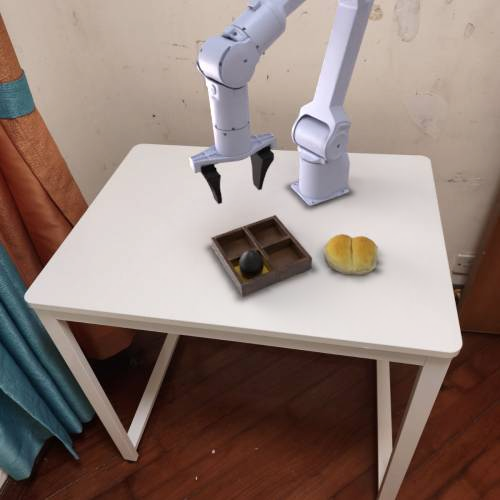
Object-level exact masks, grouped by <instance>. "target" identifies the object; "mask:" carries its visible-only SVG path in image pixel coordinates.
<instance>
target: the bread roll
mask: <svg viewBox="0 0 500 500" xmlns="http://www.w3.org/2000/svg"><path fill="white" fill-rule="evenodd" d="M378 249H379V246H378V245H377V244H376V243H375V241H374V240H372V239H371V238H369V237H367V236H363V235H361V236H355V237H351V236H350V235H348V234H343V233H342V234H341V233H340V234H336V235H334V236H332V237H331V238H330V239H329V240H328V241H327V243H326V245H325V247H324V253H323V254H324V258H325V260H326V262H327V264H328V265H329V266H330V267H331V268H332V269H333V270H335V271H336V272H339V273H341V274H354V275H365V274H368V273H370V272H372V271H373V270H374V269H376V267H377V262H378Z"/></svg>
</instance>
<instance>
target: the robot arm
mask: <svg viewBox="0 0 500 500" xmlns="http://www.w3.org/2000/svg"><path fill="white" fill-rule="evenodd" d="M306 1H307V0H249V2H247V3H246V6H247V8H246V9H245V10H244V11H243V12H242V13H241V14H240V15H239V16H238V17H237V18H236V19H235V20H234V21H233V22H232V23H231V24H230V25H229V24H228V25H227V26H226V27H224V29H223V32H222V33H221V34H220V35H219V34H217V35H212V36H210V37H209V38H208V39H206V40H205V41H204V42H203V43H202V45H201V46H200V49H199V52H198V59H197V60H195V64H196V68H197V70H198V72H199V73H200V74H201V75H202V76H203V77H204V79H205V85H206V87H207V90H208V99H209V106H210V107H209V108H210V115H211V122H212V130H213V137H214V144H213V145H212V146H210V147H207V148H206V149H204V150H202V151H201V152H199V153H197V154H195V155H192V156H189V157H188V159H189V165H190V168H191V169H192V171H193V172H194V173H195V174H198V173H200V174H201V175H202V176H203V178H204V179H205V181H206V183H207V185H208V186H209V189H210V191H211V193H212V197H213V199H214V201H215V202H216V204H217V205H220V204H223V196H222V190H221V178H222V175H221V174H220V173H219V172H218V169H217V167H216V166H215V165H219V164H225V163H231V162H240V161H243V160H245V159H247V158H249V157H250V163H251V173H252V174H251V175H252V183H253V186H254V187H255V188H256V189H257V191H262V190H263V186H264V181H265V178H266V175H267V172H268V171H269V168H270V166H271V165H272V163H273V162H274V160H275V153H274V152H273V151H272V150H273V149H277V148H278V147H277V144H278V143H277V137H276V135H274V134H273V133H272V132H271V131H270V132H267V133H262V134H254V135H252V133H251V118H250V103H249V88H248V83H249V82H250V81H251V80H252V79H253V76H254V74H255V72H256V71H255V70H256V66H257V65H258V64H259V62H260V59H261V56H262V55H263V54H265V52H267V50H268V49H269V48H270V47H271V46H272V45H273V44H274V43H275V42H276V41H277V40H278V39H279V38H280V37H281V36H282V35H283V34H284V33H285V31H286V28H287V18H288V17H289V16H290V15H291V14H292V13H293V12H295V11H296V10H297V9H298V8H299V7H301V5H303V4H304V3H305V2H306ZM336 2H337V3H338V5H337V8H336V12H335V16H334V20H333V24H332V28H331V32H330V36H329V39H328V43H327V46H326V51H325V54H324V58H323V62H322V66H321V69H320V73H319V77H318V81H317V84H316V89H315V93H314V95H313V100H311V101H309V102H308V103H306V104H304V105H302V106H301V107H300V110H299V114H298V116H297V118H296V119H295V121H294V123H293V125H292V128H291V140H292V142H293V143H294V144H295V145H297V151H298V152H299V174H298V175H299V178H298V179H299V180H298V181H297V182H295V183H292V184H290V188H291V189H292V190H293V191H294V192H295V193H296V194H297V195H298V197H300V198H301V200H303V201H304V202H305V203H306V204H307V205H308V206H309V207H313V206H315V205H318V204H322V203H324V202H326V201H329V200H332V199H335V198H338V197H341V196H344V195H346V194H349V193H350V189H349V188H348V183H349V175H350V167H351V166H350V165H351V163H350V162H351V161H350V157H349V154H348V151H347V149H348V145H349V135H350V134H349V133H350V128H351V125H352V122H351V120H350V118H349V116H348V114H347V112H346V111H345V109H344V107H343V106H344V103H345V99H346V95H347V93H348V91H349V90H348V89H349V86H350V82H351V80H352V76H353V73H354V69H355V66H356V63H357V60H358V56H359V53H360V50H361V47H362V43H363V39H364V36H365V33H366V30H367V26H368V23H369V19H370V16H371V13H372V9H373V6H374V3H375V0H336Z"/></svg>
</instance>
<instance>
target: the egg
mask: <svg viewBox="0 0 500 500" xmlns="http://www.w3.org/2000/svg"><path fill="white" fill-rule="evenodd" d="M263 267H264V263H263V259H262V257H261V255H260V254H259V253H258V252H257V251H255V250H247V251H245V252H244V253H243V254H242V256H241V258H240V261H239V268H240V271H241V273H242V274H243V275H244V276H245V277H247V278H250V279H251V278H254V277H257V276H259V275H260V274H261V273H262V271H263Z"/></svg>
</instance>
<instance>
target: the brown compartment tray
mask: <svg viewBox="0 0 500 500" xmlns="http://www.w3.org/2000/svg"><path fill="white" fill-rule="evenodd" d="M210 242H211V248H212V250H213V252H214V253H215V255H216V256H217V258H218V260H219V261H220V263H221V264H222V266H223V268H224V269H225V271H226V273H227V274H228V276H229V277H230V279H231V281H232V282H233V284H234V286H235V287H236V288H237V290H238V292H239V293H240V296H241V297H245V296H246V295H249V294H252V293H255V292H256V291H259V290H263V289H264V288H267V287H269V286H272V285H274V284H277V283H279V282H282V281H284V280H286V279H290V278H291V277H295V276H297V275H299V274H302V273H304V272H307V271H309V270H311V269H312V265H313V257H312V256H311V255H310V254H309V252H308V251H307V250H306V249H305V248H304V246H303V245H302V243H300V242H299V241H298V239H297V238H296V237H295V236H294V234H292V233H291V232H290V230H289V229H288V228H287V227H286V226H285V224H284V223H283V222H282V221H281V219H279V217H278V216H277V214H273V215H271V216H268V217H265V218H262V219H260V220H257V221H254V222H252V223H248V224H246V225H243V226H240V227H237V228H234V229H232V230H228V231H226V232H223V233H220V234H217V235H215V236H211V237H210ZM247 250H255V251H257V252H258V253H259V254H260V255H261V257H262V259H263V263H264V267H263V271H262V273H261V274H260V275H259V276H257V277H254V278H251V279H250V278H247V277H245V276H244V275H243V274H242V273H241V271H240V268H239V261H240V258H241V256H242V254H243V253H244V252H245V251H247Z"/></svg>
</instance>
